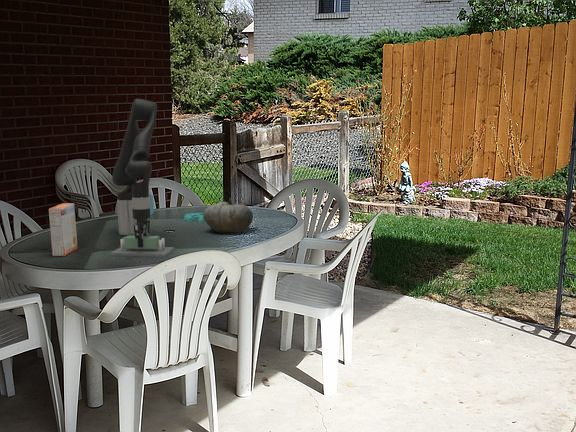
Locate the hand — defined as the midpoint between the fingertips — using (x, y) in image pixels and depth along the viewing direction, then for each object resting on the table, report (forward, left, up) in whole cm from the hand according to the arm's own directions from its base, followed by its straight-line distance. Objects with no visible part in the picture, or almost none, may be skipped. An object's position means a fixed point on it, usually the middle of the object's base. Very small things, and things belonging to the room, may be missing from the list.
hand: (142, 245), depth 296 cm
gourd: (-52, +26, -3) cm, 58 cm away
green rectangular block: (0, 0, -1) cm, 1 cm away
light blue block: (-90, -32, -3) cm, 95 cm away
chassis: (0, 0, -3) cm, 3 cm away
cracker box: (+4, -34, -3) cm, 34 cm away
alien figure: (-85, +3, -4) cm, 85 cm away
